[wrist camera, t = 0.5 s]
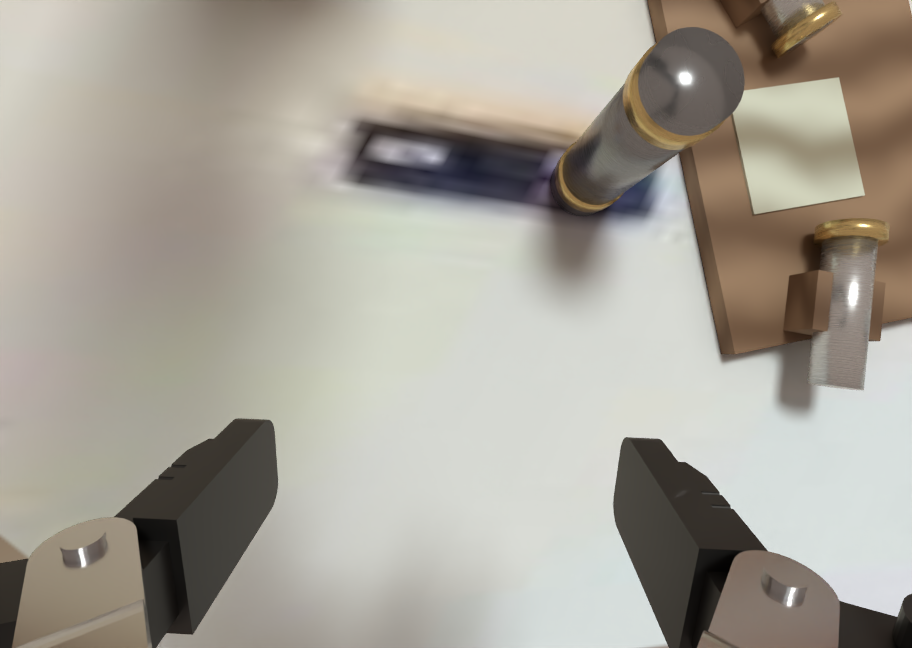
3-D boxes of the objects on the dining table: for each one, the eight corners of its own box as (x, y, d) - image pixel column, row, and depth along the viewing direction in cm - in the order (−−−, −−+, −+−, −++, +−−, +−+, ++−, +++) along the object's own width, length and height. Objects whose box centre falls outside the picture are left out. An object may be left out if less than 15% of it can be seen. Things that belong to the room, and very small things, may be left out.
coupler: (542, 157, 35) (634, 30, 21) (605, 148, 35) (735, 18, 22) (555, 222, 35) (656, 137, 21) (618, 212, 35) (757, 122, 21)
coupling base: (643, -21, 36) (672, -66, 33) (875, -46, 39) (929, -91, 35) (723, 364, 35) (763, 365, 31) (957, 315, 38) (1022, 310, 34)
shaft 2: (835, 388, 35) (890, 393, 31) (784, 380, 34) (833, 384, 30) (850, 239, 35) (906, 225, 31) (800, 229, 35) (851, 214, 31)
